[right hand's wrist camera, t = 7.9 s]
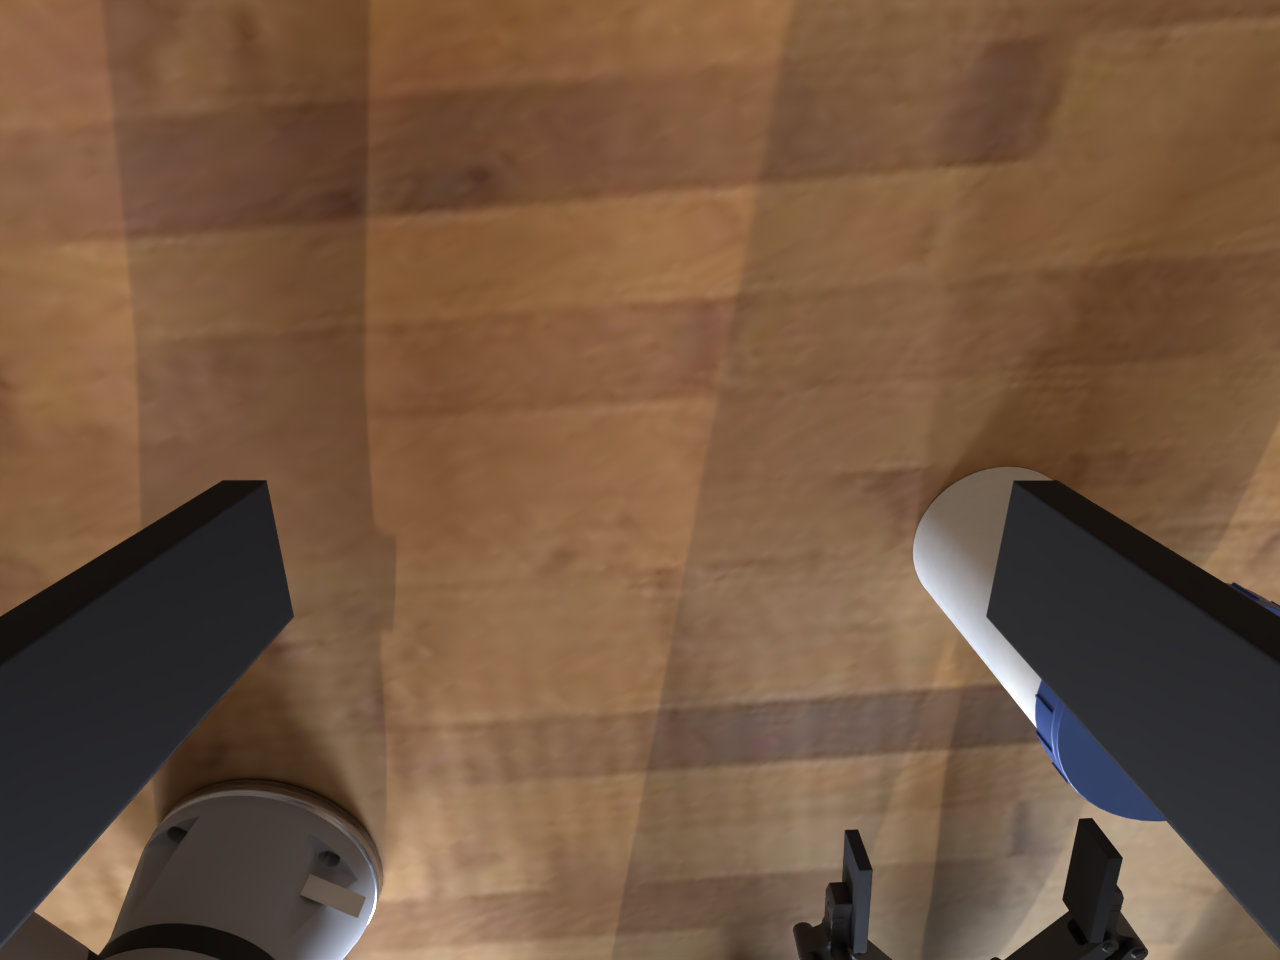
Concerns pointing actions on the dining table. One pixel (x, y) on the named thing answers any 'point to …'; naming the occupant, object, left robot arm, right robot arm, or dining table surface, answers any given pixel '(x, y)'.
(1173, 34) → the dining table surface
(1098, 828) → the left robot arm
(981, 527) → the jar
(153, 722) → the right robot arm
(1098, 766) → the lid
